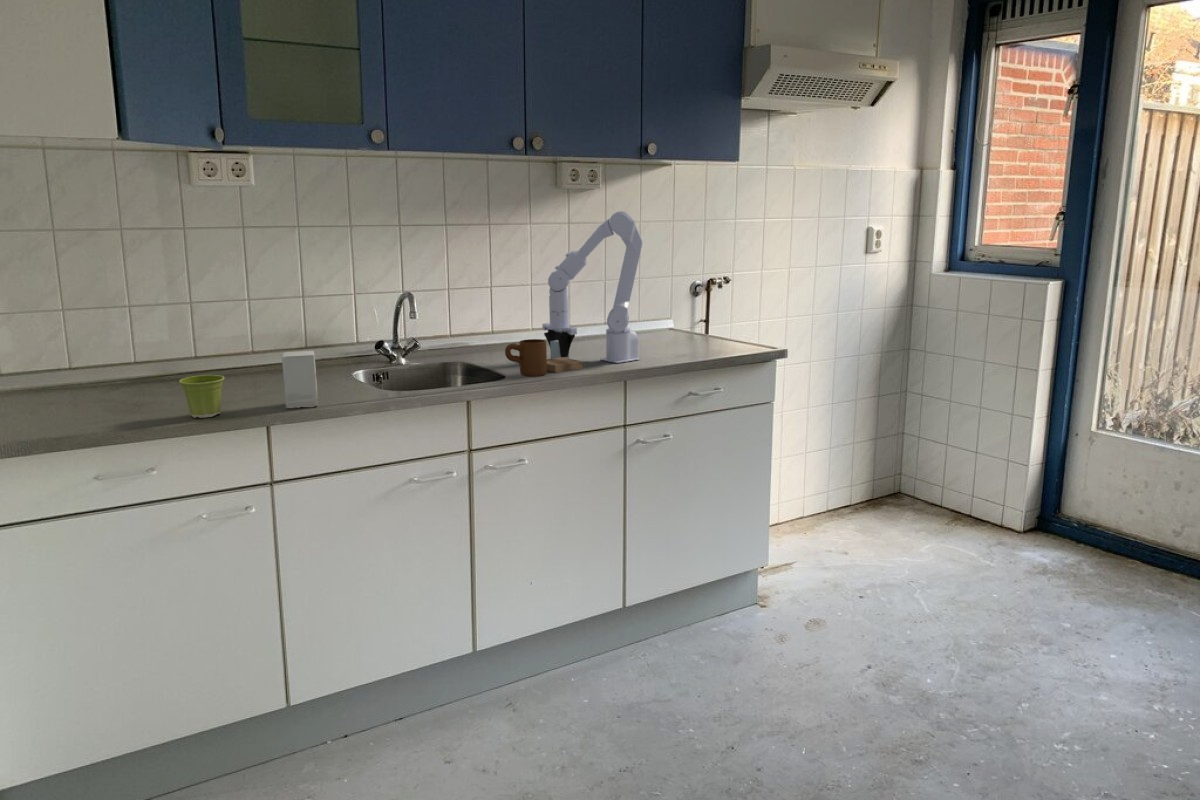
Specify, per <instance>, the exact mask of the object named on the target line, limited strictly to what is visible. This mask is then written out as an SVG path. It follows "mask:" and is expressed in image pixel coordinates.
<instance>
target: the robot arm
mask: <svg viewBox="0 0 1200 800" xmlns="http://www.w3.org/2000/svg"><path fill="white" fill-rule="evenodd" d="M614 233H615V234H616V235H617V236H619V237H620V239H621V241H622V242H623V243H624V245H625V246H626V247H625V252H624V256H623V262H622V265H621V268H620V269H621V270H620V273H619V274H620V275H619V280H618V284H617V286H616V292H615V298H614V301H613V305H612V309H611V310H610V311H609V312H608V316H607V319H606V323H607V325H606V326H607V327H608V328H607V329H605V336H606V337H605V340H606V342H605V347H606V348H605V349H606V350H605V351H606V352H605V354H606V357H601V358H600V361H604V362H609V363H615V364H620V363H627V362H632V361H639V360H640V359H641V358H640V357H639V337H638V334H637V332H636V331H634V330H632V329H631V328H629V327H628V325H629V319H630V318H629V317H630V316H629V311H628V309H629V305H630V301H631V297H632V293H633V292H632V291H633V288H634V283H635V279H636V276H637V275H636V274H637V270H638V265H639V261H640V257H641V253H642V247H643V239H642V237H641V235H640V232H639V230H638V227H637V224H636V221H635V220H634V219H633V218H632V216H631V215H630V214H629V213H628V212H626V211H622V210H621V211H617V212H615V213H613V214H612V215H611V217H610V218H608V219H606V220H605V221H604V222H603V223H602V224H600V225H599V226H598V227H597V228H596V230H595V231H594V232H593V233H592V234H591V236H589V238H588V239H587V240H586V241H585V242H584V244H583V245H582V246H581V247H580V248H579V249H578V250H572V251H571V252H567V253H566V254H565V257H566V258H564V260H563V261H561V263H560V264H559V265H556V266H555V267H554V269H555V270H556V271H553V272H551V273H550V275H549V277H548V278H547V283H548V284H547V285H548V286H549V290H548V291H549V296H548V297H549V299H548V300H549V302H548V305H549V307H548V308H549V322H548V323H542V331H546V332H543V333H544V334H543V335H544V337H545V339H546V342H547V343H548V345H549V347H550V341H555V340H558V341H559V345H560V354H561V357H568V353H569V354H570V349H571V345H572V343H573V340H574V339H575V337H576V335H577V334H578V333H577V332H578V329H577V327H574V326H571V325H569V323H570V322H569V319H570V317H569V294H568V286H569V284H570V280H574V278H576V276H578V274H579V273H580V272H581V271H582V270H583V269H584V267H586V265H587V257H588V256H589V255H590V254H591V253H592V252H593V251H594V250H595V249H596V247H598V245H600V243H601V242H602V241H604V239H607V238H610V237H612V236H613V235H614Z"/></svg>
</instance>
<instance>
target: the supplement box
mask: <svg viewBox="0 0 1200 800" xmlns="http://www.w3.org/2000/svg"><path fill="white" fill-rule="evenodd" d="M281 364H282V376H283V387H284V388H283V389H284V401H285V407H286V406H291V405H303V404H318V401H317V399H318V384H317V383H318V382H317V369H316V368H317V367H316V356H315V351H314V350H303V351H287V352H286V351H285V352H282V355H281Z"/></svg>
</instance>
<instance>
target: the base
mask: <svg viewBox="0 0 1200 800" xmlns="http://www.w3.org/2000/svg"><path fill="white" fill-rule="evenodd" d="M582 368H583V369H584V361H581V360H578V359H573V358H569V359H568V358H563V357H561V358H554V359H551V358H547V372H550V373H554V372H555V373H554V374H556V373H563V371H564V372H569V370H570V371H576V370H582Z"/></svg>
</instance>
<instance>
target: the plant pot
mask: <svg viewBox="0 0 1200 800" xmlns="http://www.w3.org/2000/svg"><path fill="white" fill-rule="evenodd" d="M224 380H225V376H224V375H219V374H217V375H216V374H202V375H200V374H199V375H194V376H188V377H184V378H181V379H179V381H178V382H179V384H180V385H181V387H182V389H183V390H184V393H185V394H184V395H185V398H186V402H187V405H188V409H189V413H190V414H189V415H191V414H193V415H205V414H214V413H217V412H220V413H221V402H222V401H221V400H222V387H223V383H224V382H223V381H224Z"/></svg>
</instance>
